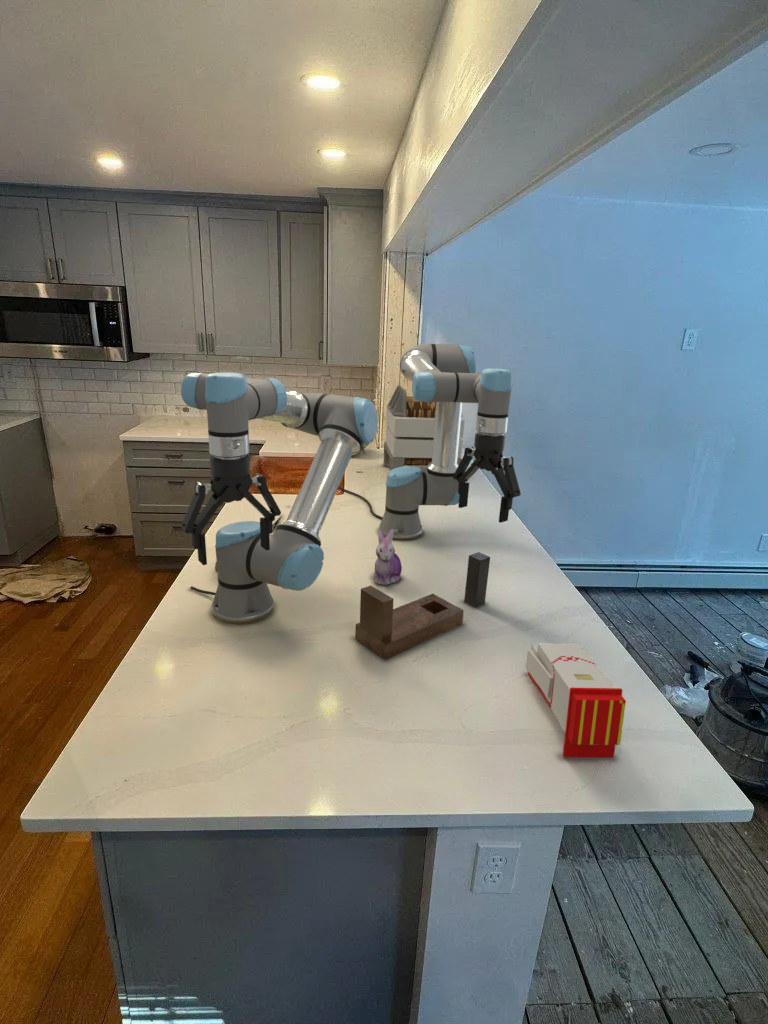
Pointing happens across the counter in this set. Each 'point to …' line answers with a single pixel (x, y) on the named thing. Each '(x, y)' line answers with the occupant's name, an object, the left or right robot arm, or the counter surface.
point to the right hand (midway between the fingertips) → (482, 513)
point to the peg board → (402, 621)
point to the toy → (578, 698)
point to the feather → (276, 523)
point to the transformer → (411, 431)
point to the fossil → (361, 449)
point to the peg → (477, 579)
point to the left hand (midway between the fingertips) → (235, 555)
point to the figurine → (386, 560)
